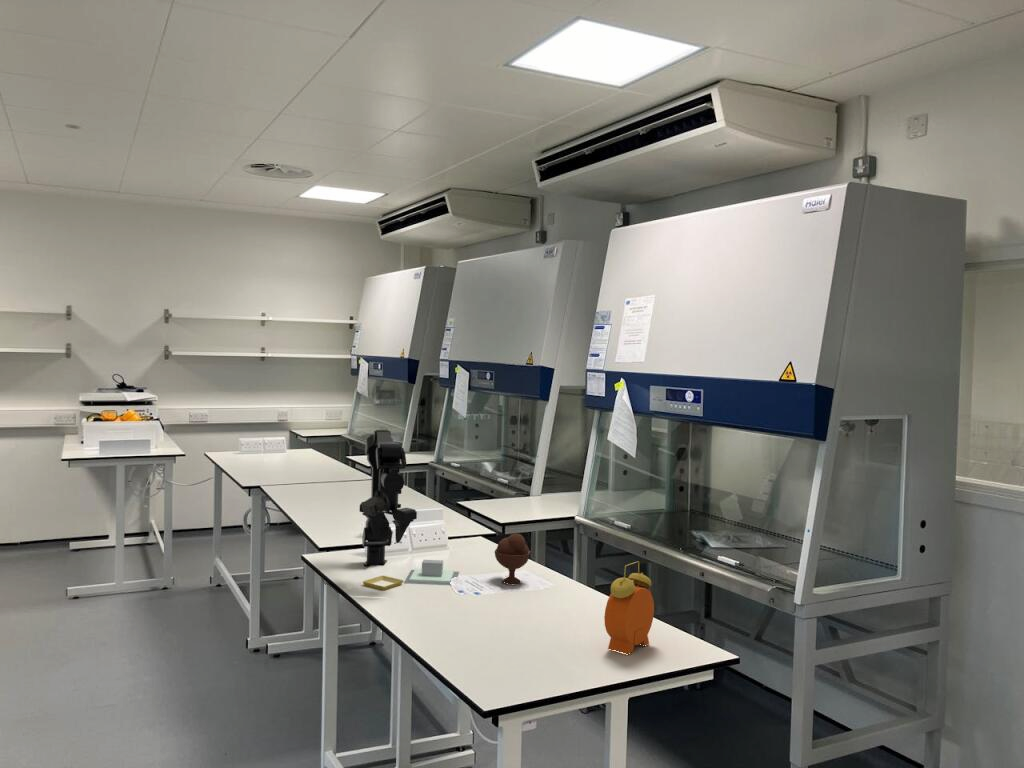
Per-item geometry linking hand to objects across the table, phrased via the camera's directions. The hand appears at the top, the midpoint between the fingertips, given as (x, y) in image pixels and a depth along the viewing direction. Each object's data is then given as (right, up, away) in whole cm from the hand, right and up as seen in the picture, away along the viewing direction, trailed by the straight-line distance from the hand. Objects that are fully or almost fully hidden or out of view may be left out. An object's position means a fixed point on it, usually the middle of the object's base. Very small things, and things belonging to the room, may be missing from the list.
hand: (386, 540), depth 230 cm
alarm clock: (+64, -17, -42) cm, 79 cm away
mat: (+12, -14, +9) cm, 20 cm away
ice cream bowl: (+36, -15, +8) cm, 40 cm away
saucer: (-1, -14, -1) cm, 14 cm away
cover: (+12, -13, +9) cm, 20 cm away
